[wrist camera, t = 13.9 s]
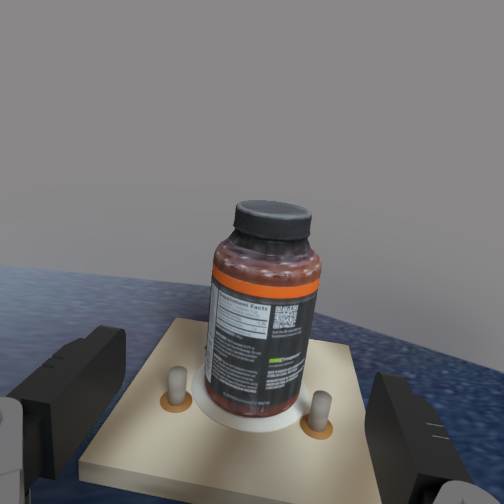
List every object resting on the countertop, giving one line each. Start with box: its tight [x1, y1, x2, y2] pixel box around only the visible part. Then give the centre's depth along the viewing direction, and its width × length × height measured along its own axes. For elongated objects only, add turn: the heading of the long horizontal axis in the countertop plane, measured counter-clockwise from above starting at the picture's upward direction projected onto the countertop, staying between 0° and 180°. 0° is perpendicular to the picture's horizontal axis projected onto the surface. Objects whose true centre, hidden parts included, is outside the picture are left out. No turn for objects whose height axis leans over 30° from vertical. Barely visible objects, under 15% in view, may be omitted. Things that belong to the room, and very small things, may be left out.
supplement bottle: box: [204, 200, 321, 418], centre depth 20 cm, size 6×6×11 cm
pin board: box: [78, 317, 382, 504], centre depth 22 cm, size 14×14×3 cm
